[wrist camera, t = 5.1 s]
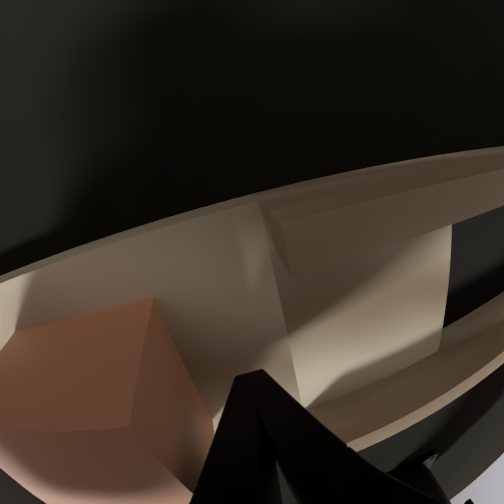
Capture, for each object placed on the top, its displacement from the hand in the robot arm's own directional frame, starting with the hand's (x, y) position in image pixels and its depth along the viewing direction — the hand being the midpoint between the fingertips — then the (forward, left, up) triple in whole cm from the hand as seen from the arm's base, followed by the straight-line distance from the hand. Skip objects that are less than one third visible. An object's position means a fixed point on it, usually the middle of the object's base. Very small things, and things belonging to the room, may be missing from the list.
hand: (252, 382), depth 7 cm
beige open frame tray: (0, -5, -2) cm, 6 cm away
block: (0, +4, -1) cm, 4 cm away
